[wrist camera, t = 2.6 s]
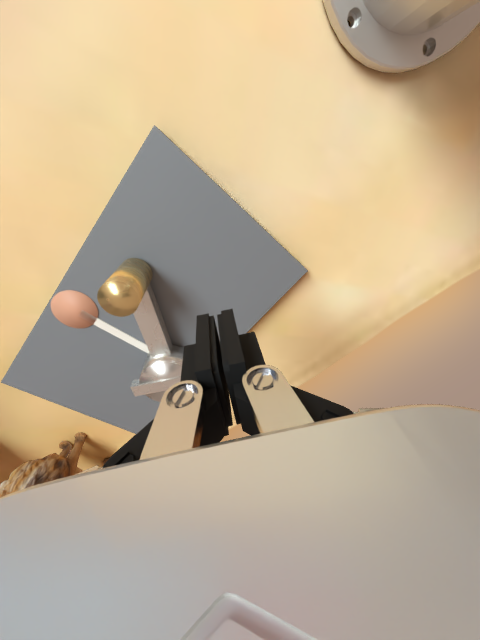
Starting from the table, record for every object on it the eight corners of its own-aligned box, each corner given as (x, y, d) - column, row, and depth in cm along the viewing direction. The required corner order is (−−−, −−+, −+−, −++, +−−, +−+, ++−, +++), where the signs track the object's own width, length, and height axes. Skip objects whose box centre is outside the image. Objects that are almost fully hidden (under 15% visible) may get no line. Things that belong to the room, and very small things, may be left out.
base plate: (157, 127, 18) (154, 124, 17) (303, 266, 25) (308, 271, 23) (8, 374, 27) (0, 383, 26) (145, 428, 33) (143, 437, 32)
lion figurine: (26, 430, 31) (-33, 516, 23) (62, 414, 31) (13, 497, 23) (107, 483, 38) (83, 562, 31) (138, 471, 38) (120, 549, 30)
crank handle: (211, 392, 29) (212, 432, 25) (156, 403, 29) (147, 445, 25) (169, 250, 21) (159, 272, 16) (91, 265, 21) (60, 290, 16)
